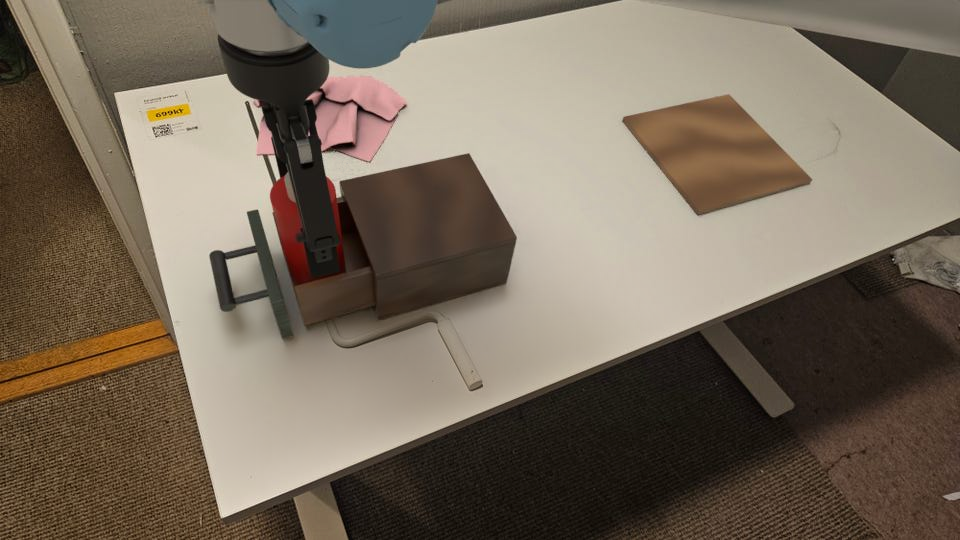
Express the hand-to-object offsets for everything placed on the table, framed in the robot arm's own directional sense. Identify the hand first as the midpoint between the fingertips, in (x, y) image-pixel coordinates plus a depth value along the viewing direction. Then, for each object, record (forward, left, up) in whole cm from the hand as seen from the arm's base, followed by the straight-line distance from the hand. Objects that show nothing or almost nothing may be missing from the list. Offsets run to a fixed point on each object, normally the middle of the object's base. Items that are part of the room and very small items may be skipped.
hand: (309, 226), depth 61 cm
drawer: (0, +1, -9) cm, 9 cm away
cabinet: (0, -13, -10) cm, 16 cm away
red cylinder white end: (0, 0, -8) cm, 8 cm away
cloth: (+28, -8, -10) cm, 31 cm away
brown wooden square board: (+5, -60, -10) cm, 61 cm away
